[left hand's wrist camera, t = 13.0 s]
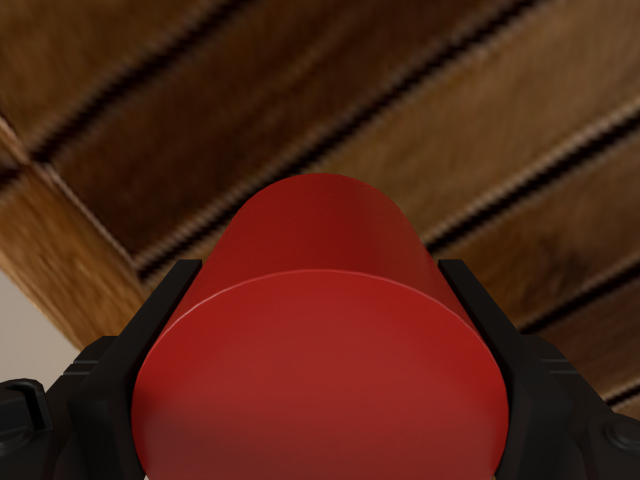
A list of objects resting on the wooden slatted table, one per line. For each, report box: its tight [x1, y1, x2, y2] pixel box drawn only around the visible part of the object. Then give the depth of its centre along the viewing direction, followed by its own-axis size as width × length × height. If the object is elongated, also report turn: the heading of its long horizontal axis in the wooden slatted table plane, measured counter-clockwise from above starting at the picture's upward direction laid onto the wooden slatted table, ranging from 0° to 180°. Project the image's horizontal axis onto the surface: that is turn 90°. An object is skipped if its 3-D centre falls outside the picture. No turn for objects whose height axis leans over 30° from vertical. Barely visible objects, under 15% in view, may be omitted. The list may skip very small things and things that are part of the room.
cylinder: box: [131, 173, 509, 480], centre depth 12 cm, size 8×8×8 cm
